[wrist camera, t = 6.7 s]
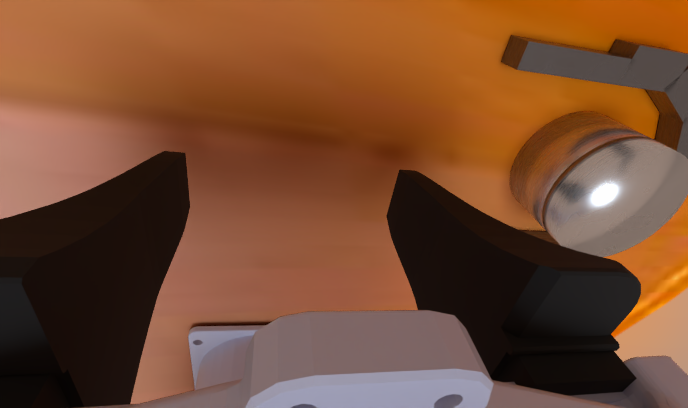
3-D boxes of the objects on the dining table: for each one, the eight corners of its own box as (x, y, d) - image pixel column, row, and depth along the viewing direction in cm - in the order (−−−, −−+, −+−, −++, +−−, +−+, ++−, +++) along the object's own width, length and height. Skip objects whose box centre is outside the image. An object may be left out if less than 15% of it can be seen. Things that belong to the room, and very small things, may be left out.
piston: (579, 210, 20) (637, 259, 17) (492, 205, 19) (535, 257, 16) (639, 116, 17) (723, 154, 14) (539, 104, 16) (605, 143, 13)
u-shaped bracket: (602, 252, 22) (616, 266, 21) (429, 247, 20) (436, 262, 19) (744, 63, 16) (773, 70, 15) (517, 21, 14) (535, 26, 13)
